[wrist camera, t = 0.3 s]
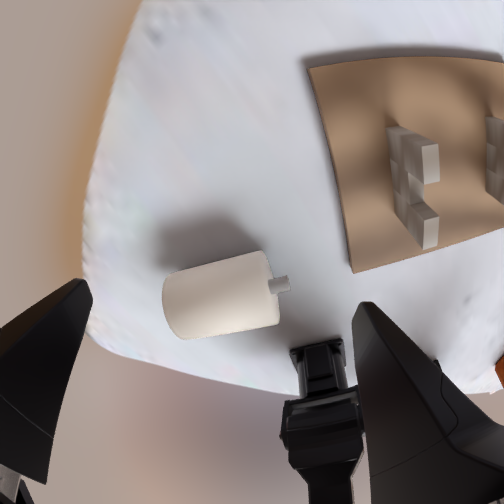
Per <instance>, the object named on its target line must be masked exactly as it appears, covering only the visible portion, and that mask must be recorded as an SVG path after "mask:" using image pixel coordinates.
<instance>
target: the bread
mask: <svg viewBox="0 0 504 504" xmlns="http://www.w3.org/2000/svg"><path fill="white" fill-rule="evenodd" d="M495 371H496V373H497V375H498V377H499V380H500V382H501V384H502V386H503V388H504V356H503V357H502V358H501V359H500V360H499V361H498V363H497V364H496V366H495Z"/></svg>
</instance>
